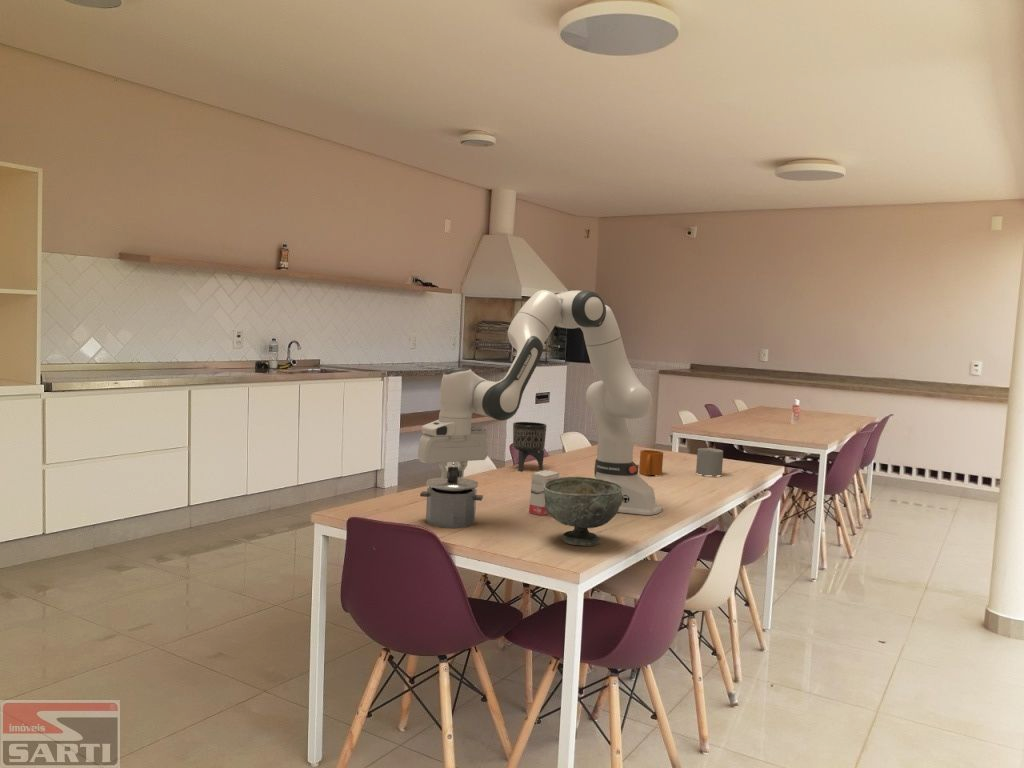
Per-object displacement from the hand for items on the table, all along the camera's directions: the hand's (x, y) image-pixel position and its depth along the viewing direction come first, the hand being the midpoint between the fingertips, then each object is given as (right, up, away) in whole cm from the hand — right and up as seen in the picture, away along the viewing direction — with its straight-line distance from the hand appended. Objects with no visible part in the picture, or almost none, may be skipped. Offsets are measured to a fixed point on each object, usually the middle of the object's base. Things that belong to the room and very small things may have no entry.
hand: (452, 477), depth 215 cm
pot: (-1, -12, +1) cm, 12 cm away
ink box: (+25, -13, +18) cm, 34 cm away
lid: (0, -3, 0) cm, 3 cm away
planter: (+22, -8, +91) cm, 94 cm away
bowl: (+34, -15, -13) cm, 39 cm away
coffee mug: (+95, -11, +100) cm, 139 cm away
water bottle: (-3, -11, +29) cm, 31 cm away
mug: (+70, -10, +93) cm, 116 cm away
